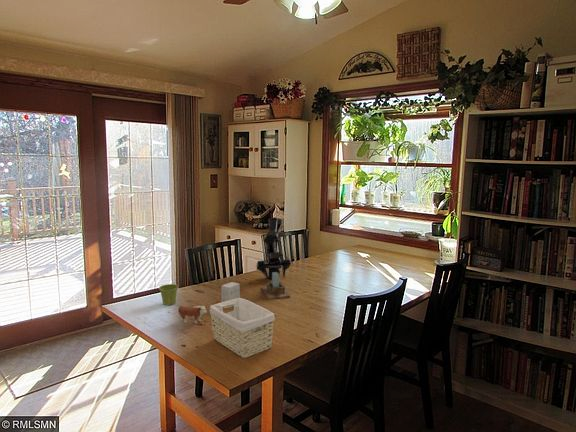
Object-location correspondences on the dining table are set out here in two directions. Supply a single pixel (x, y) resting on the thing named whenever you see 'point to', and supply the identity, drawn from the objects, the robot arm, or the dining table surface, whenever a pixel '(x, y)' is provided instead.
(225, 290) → the small box
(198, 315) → the bull figurine
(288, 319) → the dining table surface
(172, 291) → the plant pot
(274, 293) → the board
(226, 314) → the storage basket
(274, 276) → the pale blue rectangular block
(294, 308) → the dining table surface
